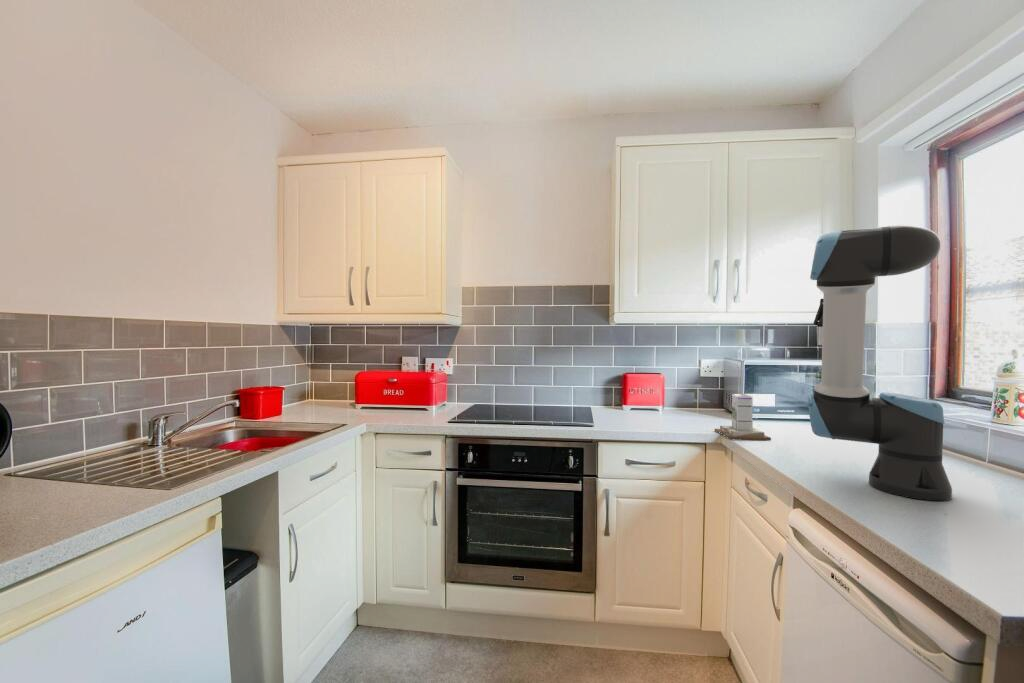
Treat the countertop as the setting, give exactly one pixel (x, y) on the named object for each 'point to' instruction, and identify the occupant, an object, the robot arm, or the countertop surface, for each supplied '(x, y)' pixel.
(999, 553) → the countertop surface
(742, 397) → the syrup box
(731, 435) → the board
